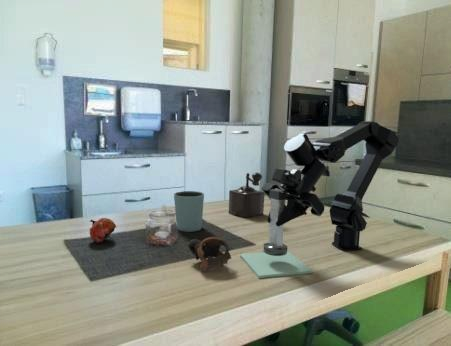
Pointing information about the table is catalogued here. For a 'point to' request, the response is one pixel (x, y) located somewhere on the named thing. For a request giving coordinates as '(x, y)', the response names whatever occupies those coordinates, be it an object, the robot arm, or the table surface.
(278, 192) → the square pillar on disc
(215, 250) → the pottery mug
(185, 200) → the green cup
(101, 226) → the red ribbed fruit
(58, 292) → the table surface
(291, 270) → the rest mat
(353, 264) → the table surface
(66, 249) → the table surface
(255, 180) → the pepper mill
